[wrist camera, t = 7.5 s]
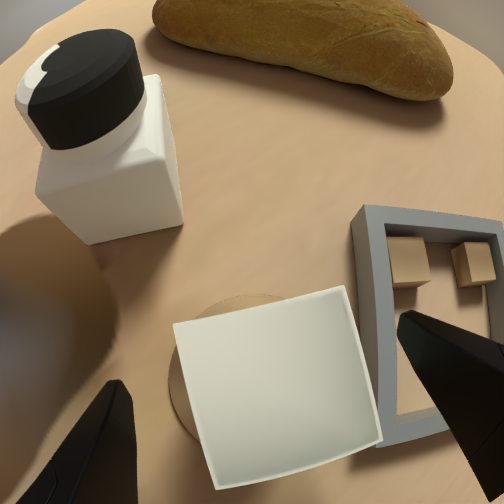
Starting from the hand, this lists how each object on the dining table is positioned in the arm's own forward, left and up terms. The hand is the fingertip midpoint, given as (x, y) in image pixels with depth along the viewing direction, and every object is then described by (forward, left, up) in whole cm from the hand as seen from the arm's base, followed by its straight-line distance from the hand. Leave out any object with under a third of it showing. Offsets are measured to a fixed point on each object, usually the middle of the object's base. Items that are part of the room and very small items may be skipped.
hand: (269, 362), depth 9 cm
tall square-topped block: (-1, 0, -8) cm, 8 cm away
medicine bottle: (+11, +9, -9) cm, 17 cm away
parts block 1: (+6, -10, -9) cm, 15 cm away
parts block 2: (+6, -17, -9) cm, 20 cm away
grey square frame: (+2, -13, -9) cm, 16 cm away
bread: (+33, -5, -9) cm, 35 cm away
